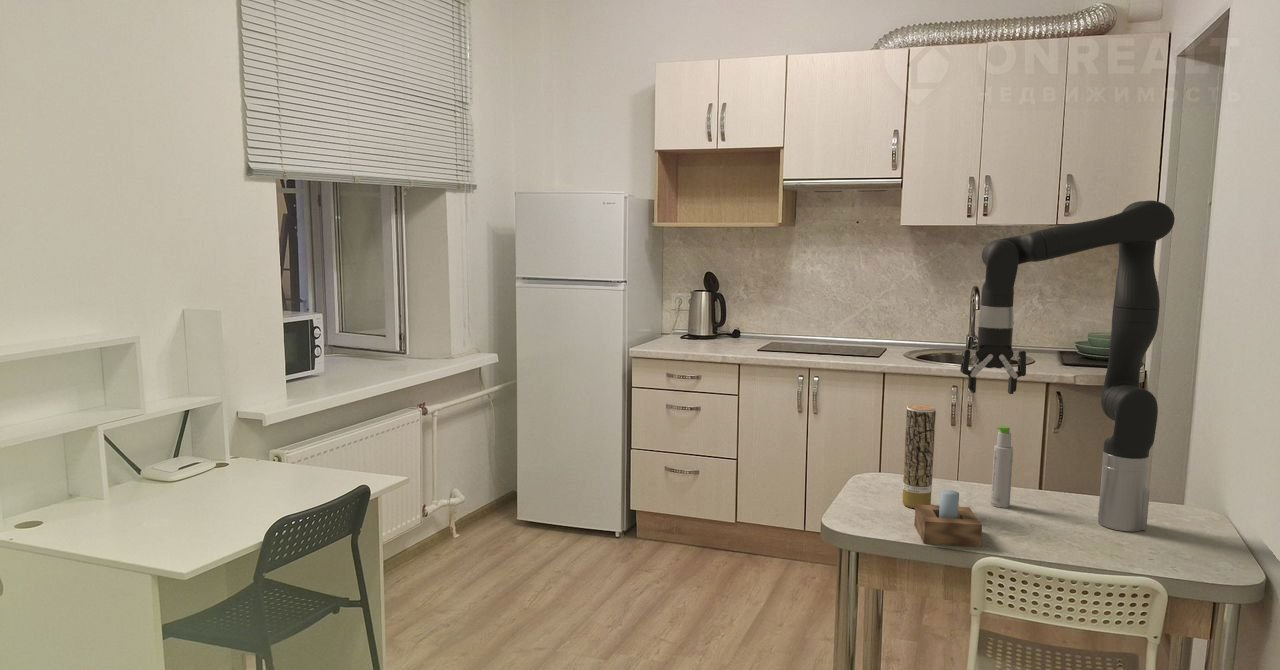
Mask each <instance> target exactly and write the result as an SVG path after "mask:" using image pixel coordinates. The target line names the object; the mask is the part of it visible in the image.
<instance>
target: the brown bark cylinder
mask: <svg viewBox="0 0 1280 670" xmlns="http://www.w3.org/2000/svg"><path fill="white" fill-rule="evenodd" d="M936 413H937V411H936V407H934V406H932V405H927V404H909V405H907V406H906V419H905V421H906V422H905V438H904V439H905V440H904V442H905V443H904V460H903V462H904V463H903V477H902V478H903V481H902V482H903V483H902V504H903V505H904V506H905V507H908V508H911V509H915V504H919V505H932V491H933V489H932V488H933V485H932V484H933V472H934V471H933V470H934V469H933V468H934V452H935V451H934V450H935V432H936V417H937V416H936Z"/></svg>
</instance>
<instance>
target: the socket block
mask: <svg viewBox="0 0 1280 670" xmlns="http://www.w3.org/2000/svg"><path fill="white" fill-rule="evenodd" d="M939 507H940V505H938V504H937V505H933V504H931V505H919V504H915V508H914V522H913V523H914V525H913V526H914V527H915V529H916V531H917V533H918V536H919V537H920V539H921V542H922V543H923V544H925V545H927V544H928V545H940V546H941V545H943V546H960V547H963V546H964V547H975V548H976V547H978V548H980V547H981V548H982V537H983V536H982V534H983V533H982V532H983V524H982V523H981V520H979V518H978V516H977V515H975V513H974V512H973V510H972V509H971V508H970V506H959V507H958V519H955V518H939Z"/></svg>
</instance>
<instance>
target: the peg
mask: <svg viewBox="0 0 1280 670" xmlns="http://www.w3.org/2000/svg"><path fill="white" fill-rule="evenodd" d="M959 504H960V493H959V492H958V491H957V490H950V489H942V490H940V491H939V506H940V507H939V518H955V519H958V507H960V505H959Z"/></svg>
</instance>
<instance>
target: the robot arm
mask: <svg viewBox="0 0 1280 670" xmlns="http://www.w3.org/2000/svg"><path fill="white" fill-rule="evenodd" d="M1174 225H1175V214H1174V212H1173V210H1172V209H1171V207H1170V206H1169V205H1168V204H1165V203H1163V202H1161V201H1157V200H1140V201H1136V202H1135V201H1134V202H1132V203H1130V204H1128V205H1127V206H1126V207H1125V208H1124V209H1123V210H1122V212H1119V213H1116V214H1112V215H1110V216H1106V217H1101V218H1097V219H1093V220H1087V221H1082V222H1074V223H1068V224H1063V225H1057V226H1053V227H1048V228H1044V229H1040V230H1036V231H1033V232H1030V233H1027V234H1021V235H1015V236H1011V237H1005V238H1000V239H999V238H998V239H995V240H992V241H990V242H988V243H986V244H985V246H984V247H983V249H982V251H981V260H982V262H983V263H984V265H985V266H986V267H985V280H984V283H983V284H982V289H981V294H980V295H981V296H980V297H981V299H980V307H979V309H980V310H979V314H978V326H977V327H978V328H977V329H978V330H977V346H976V348H975V349H969V348H966V347H965V348H963V349H962V354H961V363H960V372H961V373H962V375H965V376H967V377H968V381H967V388H968V390H969V391H970V393H973V394H975V393H977V392H976V390H977V377H976V376H977V375H978V374H979V373H980V372H981V371H982V370H984V368H987V369H995V368H996V369H1002V368H1003V369H1004V370H1005V371H1006V373H1007V374H1008V375H1009V377H1008V383H1007V393H1008V394H1009V395H1014V393H1016V391H1017V384H1018V378H1022V377H1025V376H1026V375H1027V352H1026V351H1025V350H1022V349H1019V350H1013V348H1012V346H1013V333H1014V332H1013V330H1014V324H1015V322H1014V298H1015V296H1014V295H1015V283H1016V277H1017V273H1018V268H1019V265H1021V264H1025V263H1031V262H1033V263H1037V262H1038V263H1039V262H1044V261H1048V260H1052V259H1056V258H1060V257H1064V256H1068V255H1069V256H1070V255H1072V254H1077V253H1080V252H1085V251H1088V250H1093V249H1096V248H1097V249H1098V248H1101V247H1106V246H1110V245H1111V246H1112V245H1117V244H1118V267H1117V274H1116V280H1115V289H1114V297H1113V305H1112V306H1113V307H1112V312H1111V313H1112V314H1111V330H1110V331H1111V332H1110V342H1109V353H1108V363H1107V366H1106V367H1107V368H1106V373H1105V377H1104V381H1103V387H1102V391H1101V398H1100V399H1101V400H1100V405H1101V409H1102V411H1103V413H1104V415H1105V416H1106V417H1107V418H1109V419H1110V420H1111V421H1114V426H1113V434H1112V435H1111V437H1107V438H1105V440H1104V441H1103V448H1102V449H1103V450H1102V462H1101V463H1102V465H1101V477H1100V478H1101V479H1100V488H1099V489H1100V491H1099V504H1098V512H1097V515H1098V517H1097V523H1098V524H1099V525H1101V526H1103V527H1105V528H1107V529H1112V530H1116V531H1121V532H1122V531H1123V532H1140V531H1147V529H1148V527H1147V526H1148V516H1149V515H1148V514H1149V505H1150V504H1149V503H1150V492H1151V491H1150V489H1148V488H1147V481H1148V480H1147V479H1148V467H1149V457H1150V451H1151V449H1152V447H1153V445H1154V443H1155V436H1156V431H1157V430H1156V429H1157V423H1158V415H1159V413H1158V412H1159V410H1158V409H1159V405H1158V402H1157V399H1156V397H1155V396H1154V394H1153V393H1152V392H1151V391H1150V390H1147V389H1145V388H1142V387H1140V376H1141V375H1140V373H1141V366H1142V362H1143V359H1144V357H1145V355H1146V352H1147V351H1148V349H1149V347H1150V346H1151V344H1152V342H1153V340H1154V338H1155V336H1156V333H1157V330H1158V327H1159V326H1158V325H1159V317H1160V305H1161V304H1160V292H1159V286H1158V282H1157V277H1156V272H1155V271H1156V270H1155V253H1156V247H1157V242H1158V241H1159V240H1161V239H1163V238H1165V237H1166V236H1167V235H1168V234H1169V233H1170V232H1171V231H1172V229H1173V227H1174ZM974 355H975V356H976V359H977V361H976V362H975V363H974V364H973V366H972V367H971V368H970V369H969V366H970V359H972V358H973V356H974ZM1013 357H1014V358H1015V360H1016V361H1017V370H1015V369H1014V368H1013V366H1012V365H1011V363H1010V361H1011V359H1012V358H1013Z"/></svg>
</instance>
